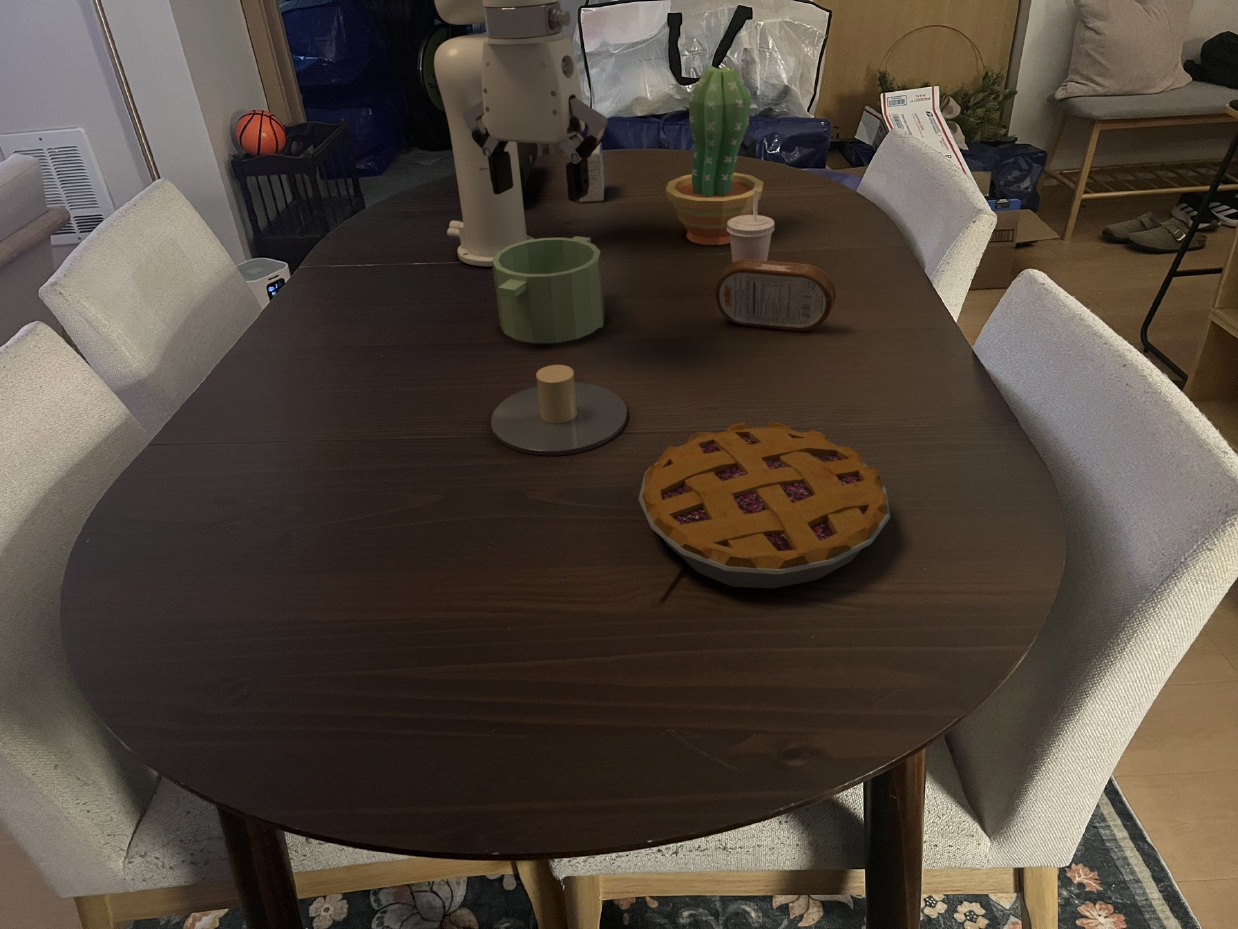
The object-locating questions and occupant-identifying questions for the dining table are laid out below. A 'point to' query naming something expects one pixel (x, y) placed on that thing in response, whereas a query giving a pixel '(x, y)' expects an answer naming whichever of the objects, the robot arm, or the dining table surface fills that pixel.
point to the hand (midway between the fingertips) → (540, 194)
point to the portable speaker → (526, 160)
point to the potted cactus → (715, 159)
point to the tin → (775, 294)
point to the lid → (558, 415)
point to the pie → (764, 504)
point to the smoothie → (750, 235)
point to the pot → (549, 289)
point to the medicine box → (595, 177)
